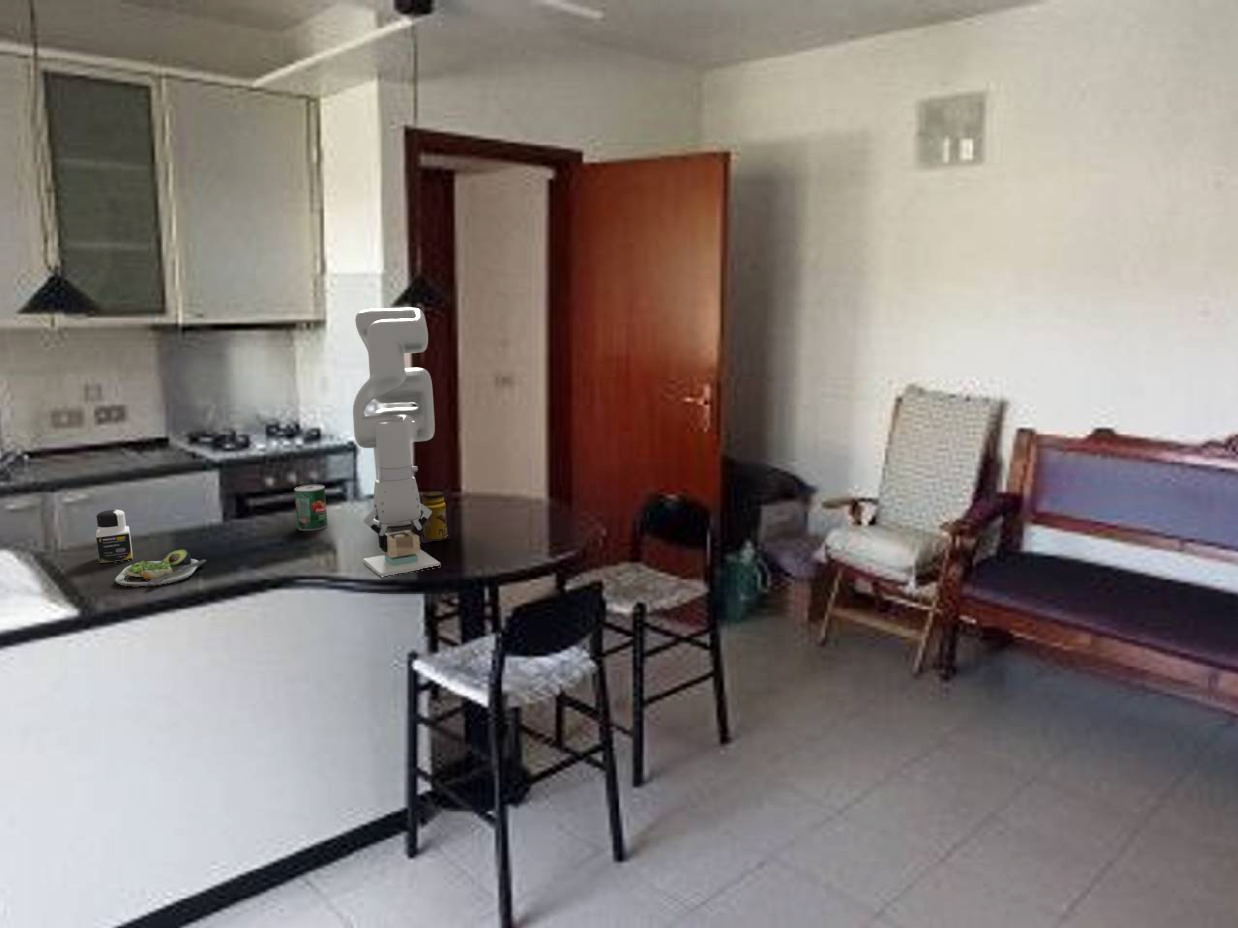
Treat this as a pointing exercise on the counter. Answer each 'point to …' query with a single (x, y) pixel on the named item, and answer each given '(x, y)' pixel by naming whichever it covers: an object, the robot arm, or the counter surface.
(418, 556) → the post block
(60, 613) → the counter surface
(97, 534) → the medicine bottle
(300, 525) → the canned tomato
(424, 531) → the condiment
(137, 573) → the salad plate
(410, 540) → the collar
